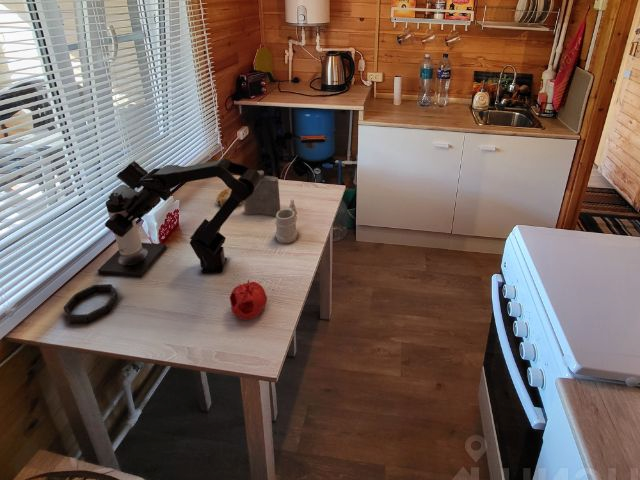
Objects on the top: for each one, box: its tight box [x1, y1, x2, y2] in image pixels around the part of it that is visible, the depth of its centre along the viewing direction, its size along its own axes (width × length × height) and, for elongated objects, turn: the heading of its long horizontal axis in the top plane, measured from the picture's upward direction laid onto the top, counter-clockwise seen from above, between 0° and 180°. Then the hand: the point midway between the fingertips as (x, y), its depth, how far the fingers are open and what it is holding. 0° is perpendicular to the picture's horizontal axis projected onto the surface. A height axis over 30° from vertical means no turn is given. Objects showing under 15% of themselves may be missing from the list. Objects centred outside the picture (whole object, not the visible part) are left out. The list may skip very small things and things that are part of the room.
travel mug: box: [105, 199, 142, 257], centre depth 119 cm, size 6×7×20 cm
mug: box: [274, 199, 299, 244], centre depth 136 cm, size 8×12×12 cm, turn 165°
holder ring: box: [63, 283, 120, 325], centre depth 106 cm, size 12×12×2 cm
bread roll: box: [215, 187, 243, 208], centre depth 156 cm, size 10×10×8 cm
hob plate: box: [97, 242, 167, 278], centre depth 124 cm, size 14×14×2 cm
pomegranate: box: [229, 279, 268, 320], centre depth 104 cm, size 10×10×9 cm
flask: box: [243, 170, 281, 217], centre depth 147 cm, size 4×14×18 cm, turn 86°
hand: (121, 226), depth 119 cm, fingers closed on travel mug, 6 cm apart
